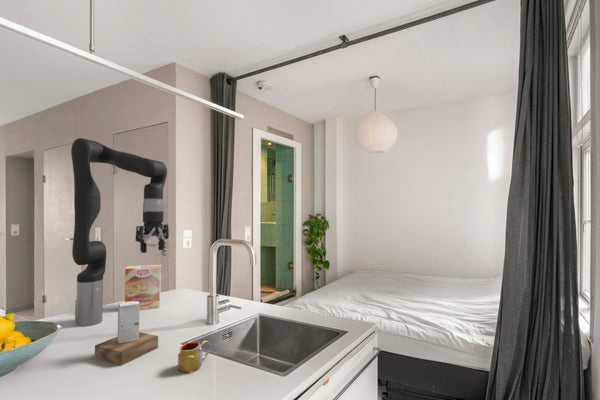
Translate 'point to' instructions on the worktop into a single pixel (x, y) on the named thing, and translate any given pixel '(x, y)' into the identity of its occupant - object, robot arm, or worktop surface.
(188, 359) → the mug
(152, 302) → the coffeecake box
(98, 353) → the base
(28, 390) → the worktop surface
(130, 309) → the skincare box
